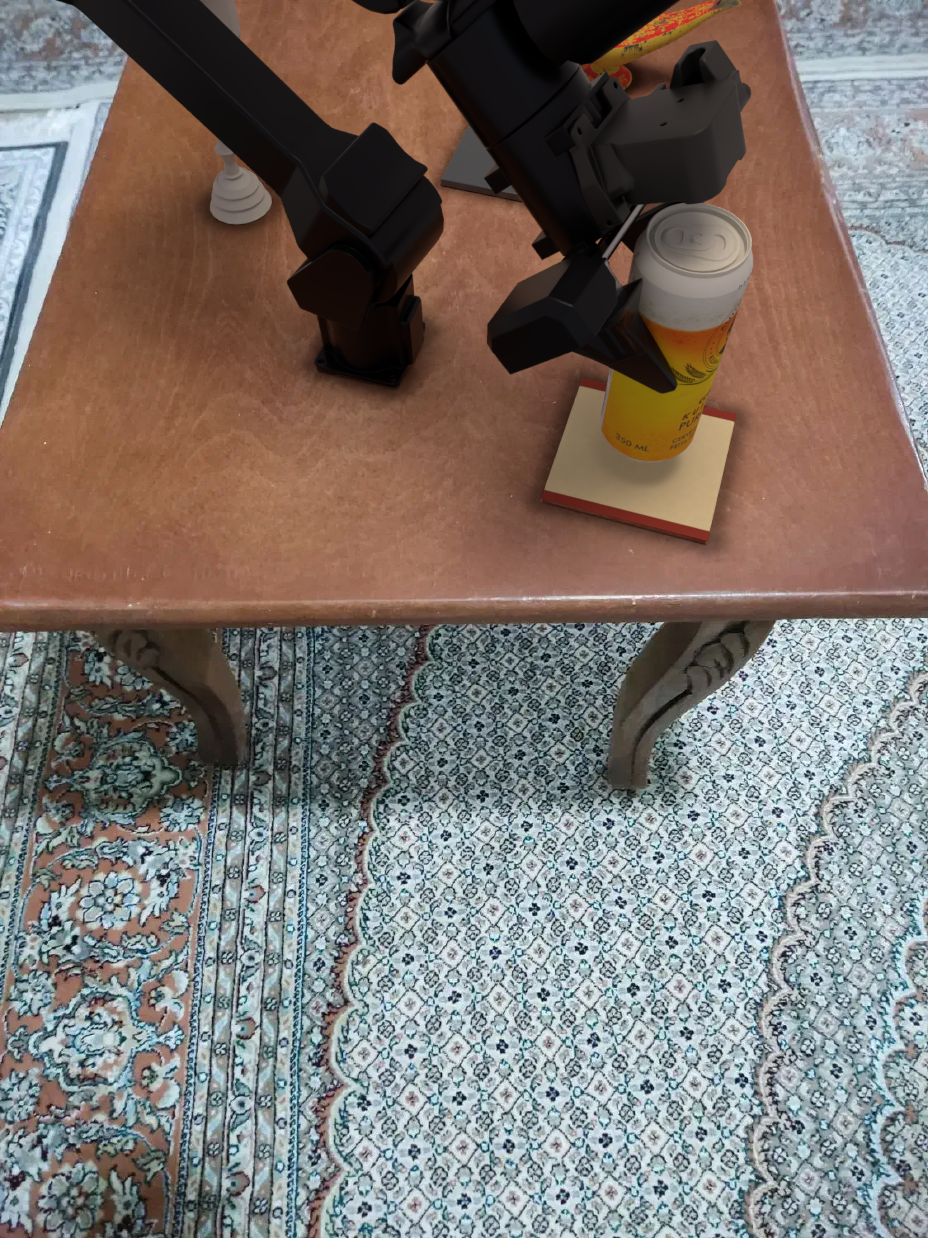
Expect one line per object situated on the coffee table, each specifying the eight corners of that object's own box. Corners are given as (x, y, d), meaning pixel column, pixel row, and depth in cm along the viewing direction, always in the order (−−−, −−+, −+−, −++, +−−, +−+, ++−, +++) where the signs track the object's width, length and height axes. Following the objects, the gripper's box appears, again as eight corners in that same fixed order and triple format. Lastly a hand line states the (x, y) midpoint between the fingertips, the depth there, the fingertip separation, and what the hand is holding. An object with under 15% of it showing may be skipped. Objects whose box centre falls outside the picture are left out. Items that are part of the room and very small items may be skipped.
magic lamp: (723, 105, 78) (759, -35, 68) (520, 96, 79) (527, -43, 69) (720, 59, 81) (753, -80, 72) (524, 52, 82) (532, -87, 72)
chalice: (221, 244, 70) (147, -3, 54) (181, 199, 73) (100, -49, 57) (300, 207, 72) (251, -42, 56) (258, 164, 75) (200, -84, 59)
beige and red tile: (540, 502, 58) (541, 498, 58) (581, 381, 63) (582, 377, 63) (706, 544, 57) (707, 540, 56) (735, 417, 61) (736, 413, 61)
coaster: (440, 185, 73) (440, 178, 73) (476, 114, 78) (476, 107, 77) (557, 208, 72) (557, 202, 71) (587, 135, 76) (587, 128, 76)
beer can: (687, 476, 56) (757, 287, 43) (592, 461, 56) (631, 269, 43) (695, 404, 59) (762, 205, 45) (604, 390, 59) (644, 189, 46)
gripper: (564, 137, 33) (759, 440, 40) (741, -87, 41) (878, 201, 48) (398, 245, 42) (582, 478, 49) (569, 44, 49) (707, 271, 57)
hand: (691, 353), depth 50 cm, fingers closed on beer can, 6 cm apart
